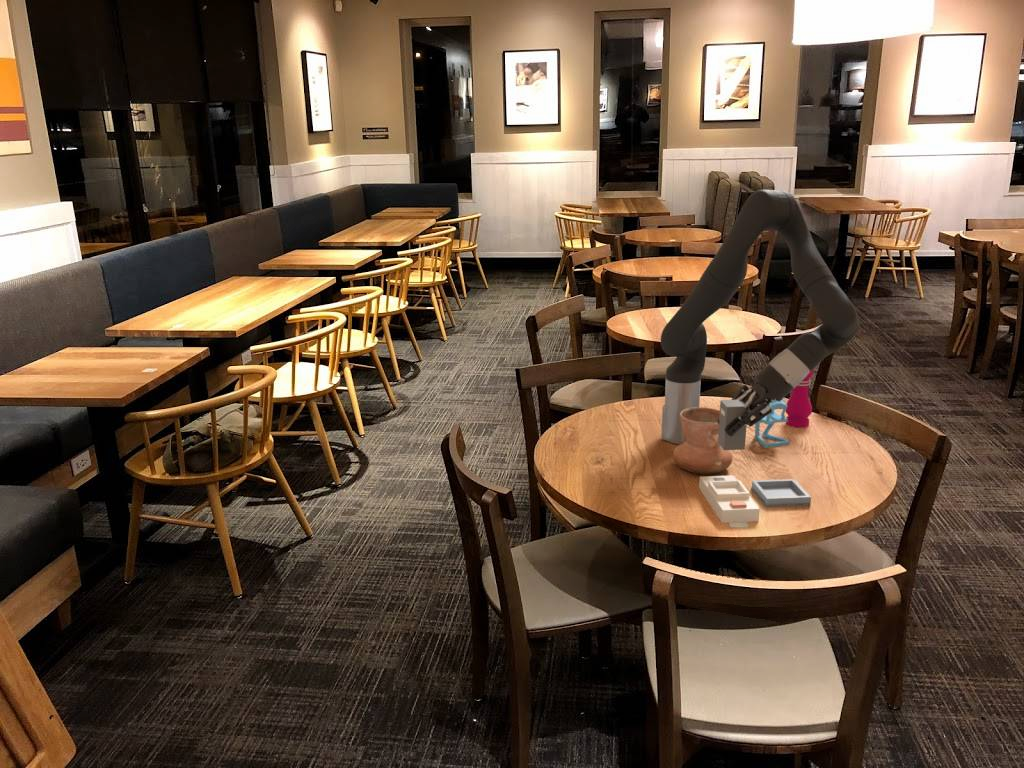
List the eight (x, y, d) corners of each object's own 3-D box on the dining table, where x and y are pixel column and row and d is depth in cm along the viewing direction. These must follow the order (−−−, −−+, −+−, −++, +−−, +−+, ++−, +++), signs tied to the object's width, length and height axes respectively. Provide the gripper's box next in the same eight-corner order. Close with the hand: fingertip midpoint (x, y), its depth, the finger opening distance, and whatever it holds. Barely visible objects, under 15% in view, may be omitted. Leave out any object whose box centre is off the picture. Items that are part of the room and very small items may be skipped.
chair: (771, 434, 226) (774, 393, 223) (789, 444, 218) (793, 401, 215) (747, 438, 224) (749, 396, 220) (765, 448, 216) (768, 405, 213)
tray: (766, 506, 182) (767, 498, 182) (751, 488, 192) (752, 480, 191) (810, 505, 183) (811, 497, 182) (793, 486, 192) (794, 479, 192)
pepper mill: (814, 428, 230) (820, 359, 224) (788, 428, 230) (794, 360, 224) (805, 419, 237) (811, 353, 231) (780, 420, 237) (786, 353, 231)
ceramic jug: (745, 477, 198) (748, 422, 194) (689, 483, 195) (692, 427, 191) (711, 452, 215) (714, 401, 211) (659, 457, 212) (661, 405, 208)
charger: (717, 442, 182) (720, 400, 179) (737, 441, 182) (741, 399, 179) (723, 450, 178) (726, 406, 175) (744, 449, 178) (748, 406, 175)
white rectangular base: (699, 488, 192) (700, 471, 191) (732, 487, 193) (733, 470, 192) (722, 522, 175) (723, 505, 174) (758, 521, 176) (760, 503, 174)
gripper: (759, 354, 182) (703, 407, 185) (783, 372, 168) (722, 429, 171) (781, 376, 183) (724, 428, 186) (806, 396, 170) (745, 452, 173)
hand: (723, 428), depth 179 cm, fingers closed on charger, 4 cm apart
